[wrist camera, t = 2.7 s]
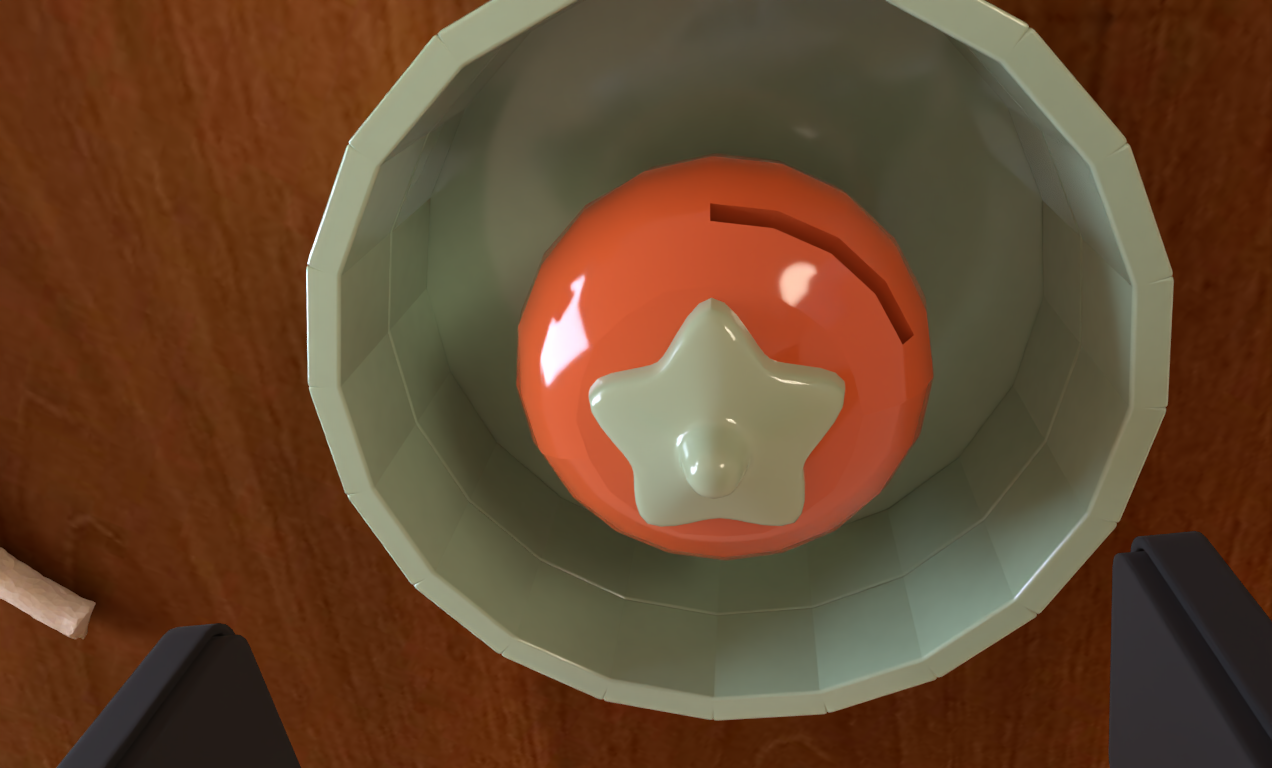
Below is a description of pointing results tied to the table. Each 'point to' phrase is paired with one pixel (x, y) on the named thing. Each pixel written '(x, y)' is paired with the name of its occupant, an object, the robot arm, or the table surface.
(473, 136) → the bowl
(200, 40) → the table surface
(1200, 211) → the table surface
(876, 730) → the table surface
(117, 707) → the robot arm
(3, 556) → the bone
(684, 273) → the tomato
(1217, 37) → the table surface
